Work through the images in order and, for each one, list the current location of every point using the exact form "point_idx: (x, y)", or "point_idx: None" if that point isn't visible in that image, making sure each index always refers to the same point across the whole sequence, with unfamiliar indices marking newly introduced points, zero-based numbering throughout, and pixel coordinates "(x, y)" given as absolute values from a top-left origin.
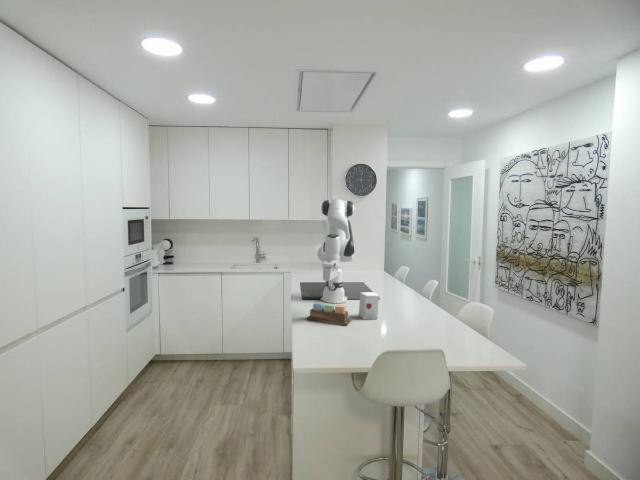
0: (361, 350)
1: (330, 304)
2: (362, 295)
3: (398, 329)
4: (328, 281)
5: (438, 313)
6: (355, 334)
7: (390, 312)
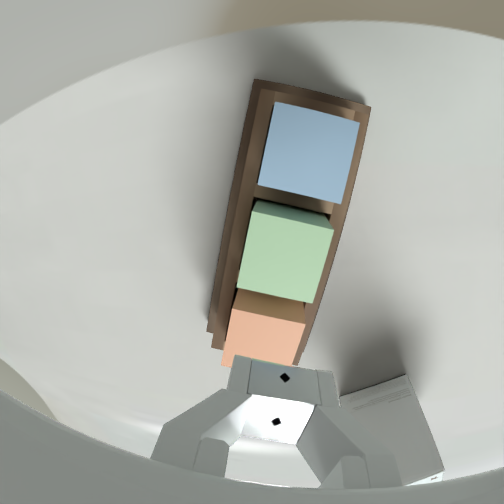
0: (5, 338)
1: (296, 268)
2: (400, 476)
3: (232, 471)
4: (177, 424)
5: None
6: (108, 348)
7: (440, 453)
